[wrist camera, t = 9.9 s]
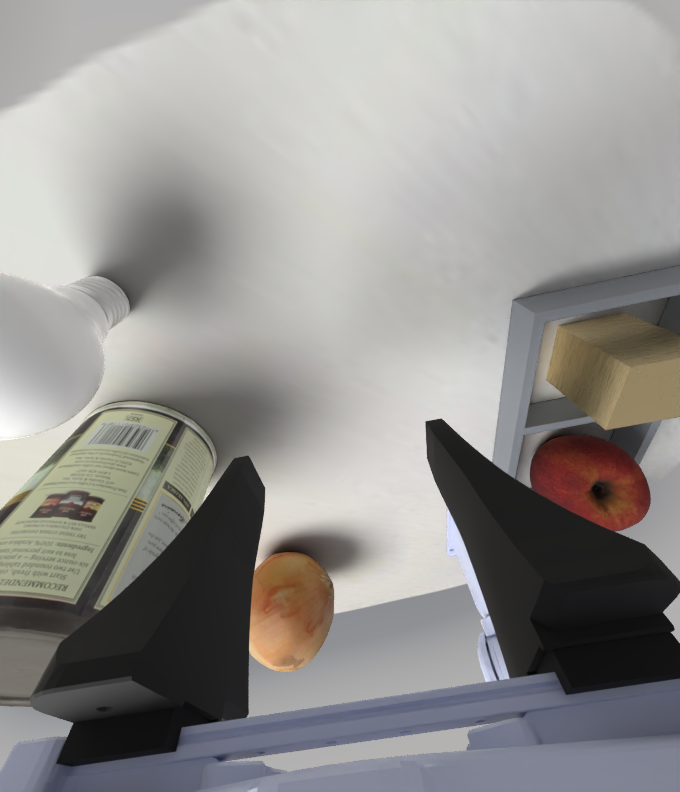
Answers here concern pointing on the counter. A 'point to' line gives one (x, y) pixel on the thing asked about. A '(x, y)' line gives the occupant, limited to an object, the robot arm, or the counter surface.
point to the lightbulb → (52, 349)
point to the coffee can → (92, 528)
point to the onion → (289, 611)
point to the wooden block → (618, 370)
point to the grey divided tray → (526, 347)
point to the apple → (591, 480)
